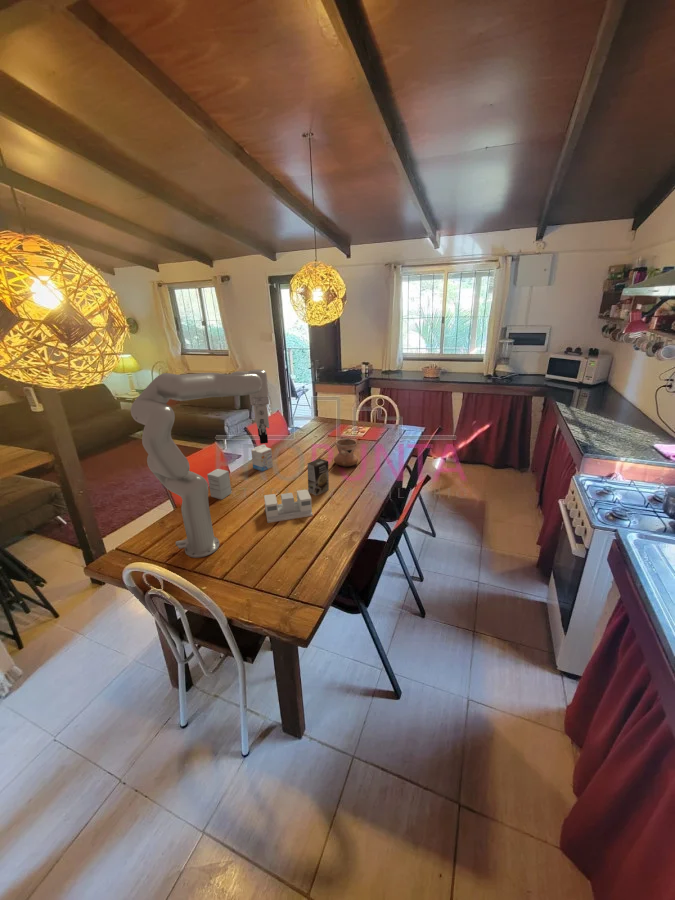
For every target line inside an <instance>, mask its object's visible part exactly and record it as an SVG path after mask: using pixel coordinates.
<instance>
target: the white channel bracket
mask: <svg viewBox="0 0 675 900" xmlns="http://www.w3.org/2000/svg"><path fill="white" fill-rule="evenodd" d="M310 494H311V493H310V492H308V488H307V489H300V490H296V498H297V499H296V501H294V512H288V513H283V510H282V503H280V504H278V501H277V496H276V493H270V494H265V495H263V498H264V499H263V501H264V511H265V515H266V521H267V523H268V524H269V523H275V522H281V521H289V520H294V519H295V520H296V519H299V518H305V517H312V516H313V511H312V510H313V508H312V506H313V505H312V496H311V495H310Z"/></svg>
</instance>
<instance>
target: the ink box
mask: <svg viewBox="0 0 675 900" xmlns="http://www.w3.org/2000/svg"><path fill="white" fill-rule="evenodd" d="M251 460H252V468H253V469H255V470H258V471H259V472H264V471H267V470H269V469H271V468H273V467H274V464H273V463H274V462H273V451H272V448H270V447H267V445H266V443H263V444H261V445H258V446H255V447H254V448H253V449H251Z"/></svg>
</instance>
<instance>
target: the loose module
mask: <svg viewBox="0 0 675 900" xmlns="http://www.w3.org/2000/svg"><path fill="white" fill-rule="evenodd" d="M293 494H294V493H293V492H287V493H281V494H280V497H281V498H280V500H281V504H282V510H283V513H288V512H294V502H295V499H294V495H293Z"/></svg>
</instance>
